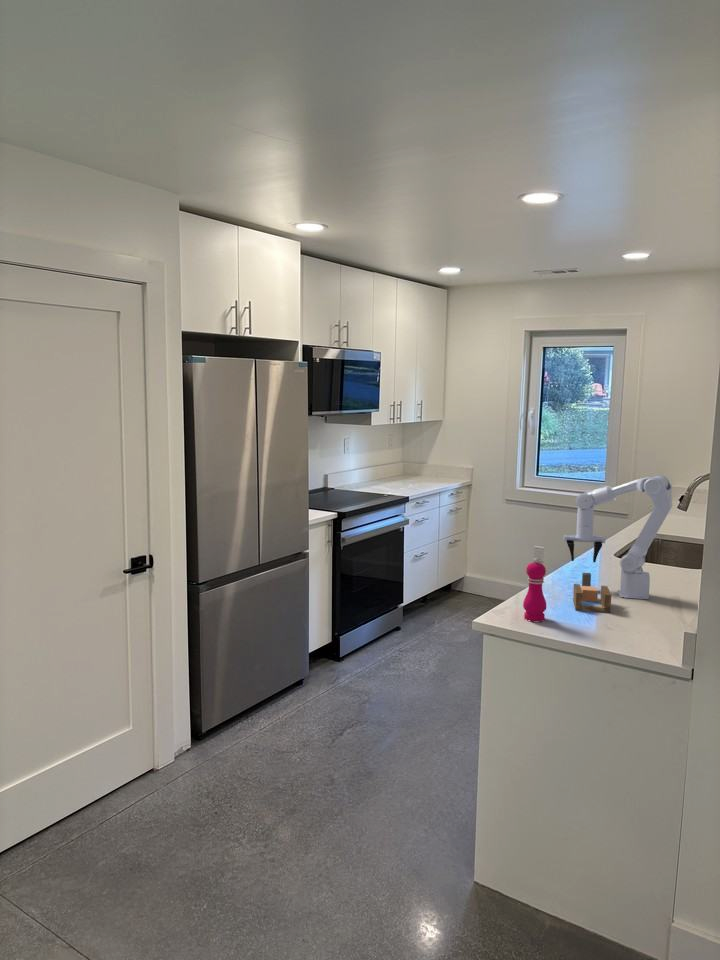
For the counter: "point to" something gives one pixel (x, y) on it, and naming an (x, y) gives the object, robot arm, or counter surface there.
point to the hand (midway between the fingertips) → (583, 561)
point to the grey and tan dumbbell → (588, 589)
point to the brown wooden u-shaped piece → (604, 601)
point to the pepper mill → (535, 592)
